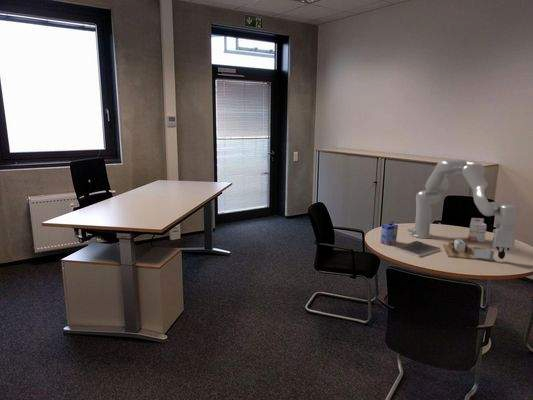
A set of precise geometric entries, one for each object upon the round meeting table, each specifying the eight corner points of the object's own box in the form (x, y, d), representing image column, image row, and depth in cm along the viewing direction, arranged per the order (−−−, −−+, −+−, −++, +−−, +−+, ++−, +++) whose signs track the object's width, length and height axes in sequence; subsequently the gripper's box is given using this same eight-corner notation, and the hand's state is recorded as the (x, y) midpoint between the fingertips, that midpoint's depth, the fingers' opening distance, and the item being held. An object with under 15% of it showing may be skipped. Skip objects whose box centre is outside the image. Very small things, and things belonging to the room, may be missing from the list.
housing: (448, 256, 228) (448, 249, 227) (442, 245, 248) (443, 238, 247) (494, 261, 221) (495, 253, 220) (484, 249, 242) (485, 242, 241)
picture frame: (416, 244, 252) (394, 250, 240) (416, 240, 252) (395, 246, 240) (440, 251, 239) (418, 258, 227) (440, 247, 238) (419, 254, 226)
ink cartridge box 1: (386, 245, 248) (388, 223, 245) (379, 242, 252) (381, 221, 249) (396, 242, 253) (398, 221, 250) (390, 240, 257) (391, 219, 254)
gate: (474, 258, 223) (475, 250, 222) (473, 257, 225) (474, 249, 224) (492, 260, 221) (493, 251, 220) (491, 259, 223) (493, 250, 222)
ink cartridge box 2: (471, 241, 257) (473, 219, 254) (468, 239, 262) (470, 217, 259) (484, 241, 256) (487, 220, 253) (481, 239, 261) (484, 218, 258)
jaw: (456, 251, 235) (457, 242, 234) (453, 247, 241) (454, 238, 240) (464, 252, 234) (465, 242, 233) (461, 248, 240) (462, 239, 239)
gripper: (492, 227, 215) (487, 259, 219) (523, 229, 211) (518, 261, 215) (488, 224, 222) (484, 254, 226) (518, 226, 218) (513, 257, 222)
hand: (500, 258), depth 221 cm, fingers closed
